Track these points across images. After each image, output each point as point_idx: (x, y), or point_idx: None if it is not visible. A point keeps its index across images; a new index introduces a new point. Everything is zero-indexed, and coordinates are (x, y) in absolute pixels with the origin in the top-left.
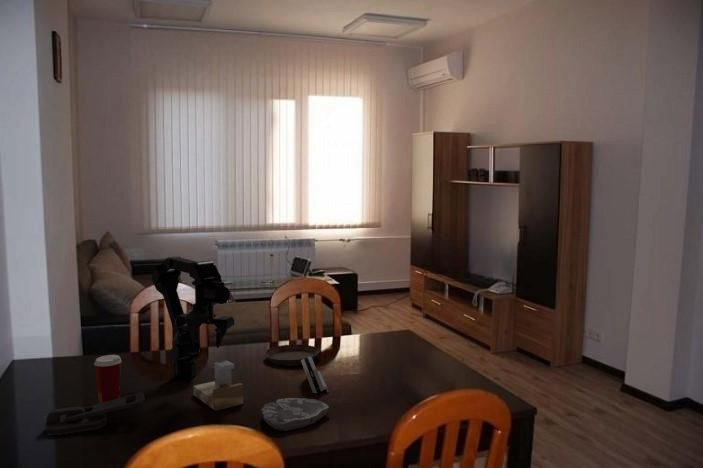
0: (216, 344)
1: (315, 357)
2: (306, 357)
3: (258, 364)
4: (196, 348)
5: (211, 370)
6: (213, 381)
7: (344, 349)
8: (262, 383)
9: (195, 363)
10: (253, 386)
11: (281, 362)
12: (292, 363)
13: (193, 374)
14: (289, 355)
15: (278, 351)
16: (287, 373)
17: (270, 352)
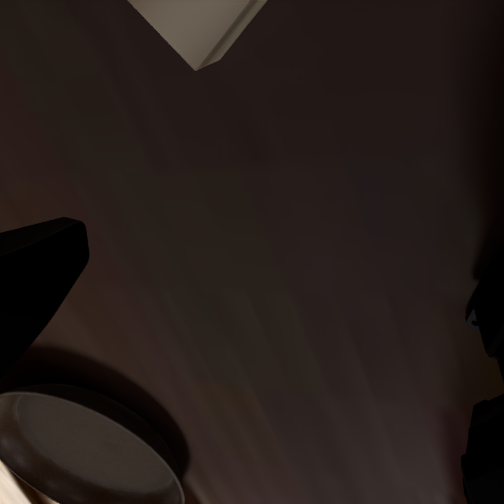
0: (31, 238)
1: (5, 424)
2: (51, 439)
3: (189, 411)
4: (495, 440)
5: (389, 368)
6: (231, 20)
7: (3, 480)
8: (42, 181)
9: (486, 350)
10: (57, 131)
11: (78, 393)
12: (42, 384)
13: (484, 278)
14: (118, 466)
15: (164, 499)
16: None
17: (179, 491)
